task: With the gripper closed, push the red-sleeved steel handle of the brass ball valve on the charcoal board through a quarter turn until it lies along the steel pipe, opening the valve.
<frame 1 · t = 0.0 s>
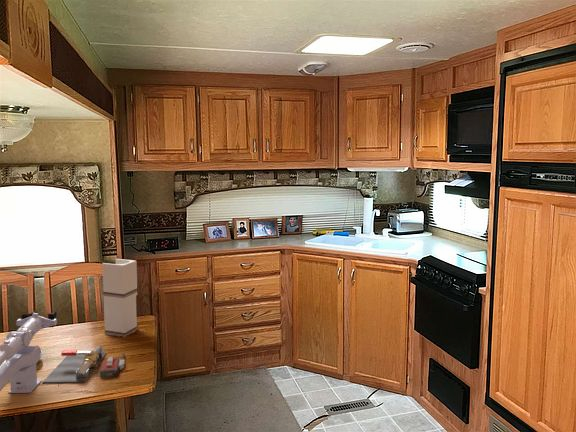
hand: (46, 313, 195), 22 cm above the table, tool horizontal, fingers open, 7 cm apart
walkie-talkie: (113, 368, 196), on the table
mounting board: (90, 367, 195), on the table
valve lever: (78, 352, 194), point 6 cm above the table, hinge at 0.0°
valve: (90, 360, 194), on the mounting board, point 3 cm above the table
tall square wastebasket: (121, 332, 233), on the table
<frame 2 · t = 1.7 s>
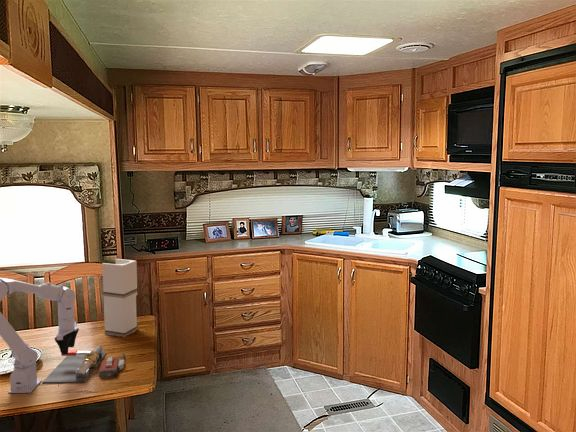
hand: (67, 350, 189), 9 cm above the table, tool pointing down, fingers open, 6 cm apart
nothing on the table moved.
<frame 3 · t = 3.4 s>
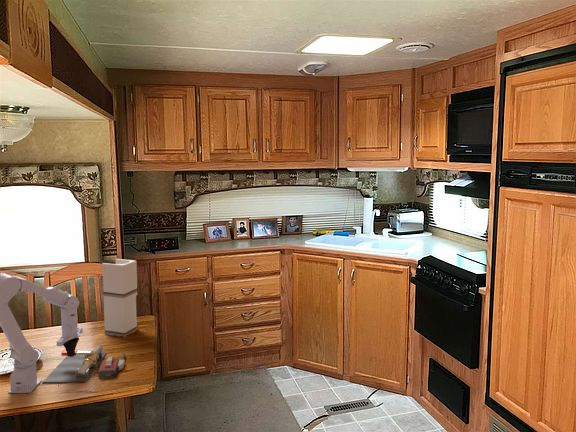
hand: (71, 356, 192), 6 cm above the table, tool pointing down, fingers closed, pressing on valve lever
valve lever: (78, 352, 194), point 6 cm above the table, hinge at 0.2°, touching gripper
everything else where it was.
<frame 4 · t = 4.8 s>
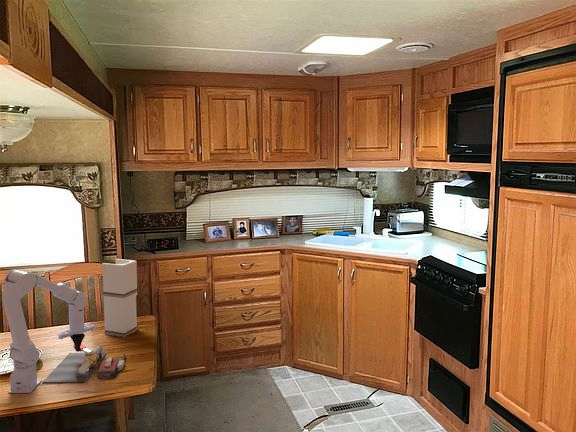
hand: (77, 350, 197), 6 cm above the table, tool pointing down, fingers closed, pressing on valve lever
valve lever: (83, 349, 197), point 6 cm above the table, hinge at 41.6°, touching gripper
everything else where it was.
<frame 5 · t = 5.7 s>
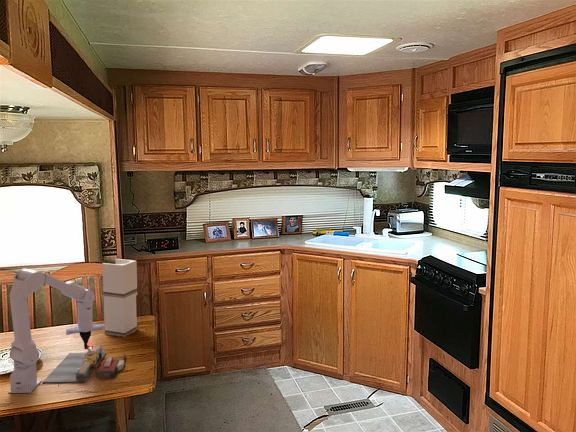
hand: (85, 348, 200), 6 cm above the table, tool pointing down, fingers closed, pressing on valve lever
valve lever: (90, 348, 198), point 6 cm above the table, hinge at 70.3°, touching gripper
everything else where it was.
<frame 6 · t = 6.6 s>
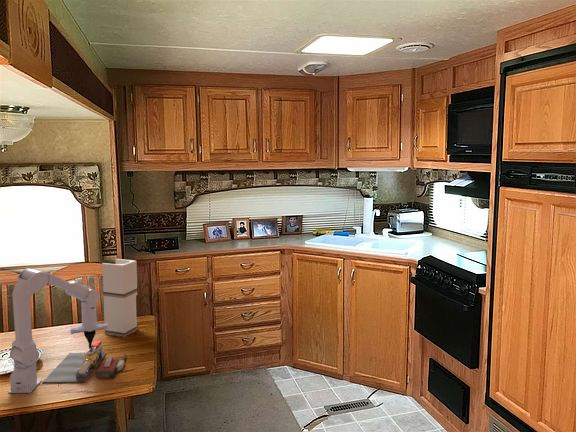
hand: (90, 347, 200), 6 cm above the table, tool pointing down, fingers closed, pressing on valve lever
valve lever: (94, 347, 199), point 6 cm above the table, hinge at 88.6°, touching gripper
everything else where it was.
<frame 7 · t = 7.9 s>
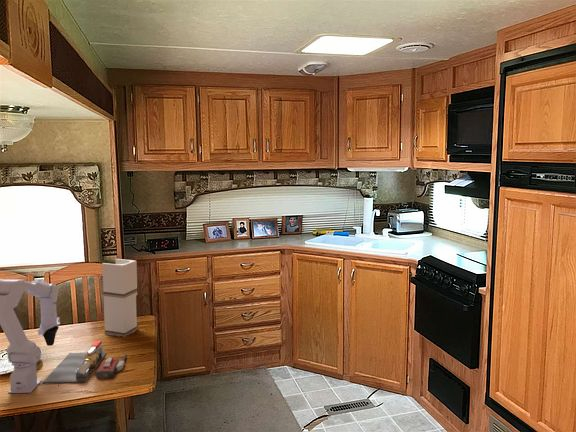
hand: (50, 345, 194), 9 cm above the table, tool pointing down, fingers closed
valve lever: (94, 347, 199), point 6 cm above the table, hinge at 88.6°
everything else where it was.
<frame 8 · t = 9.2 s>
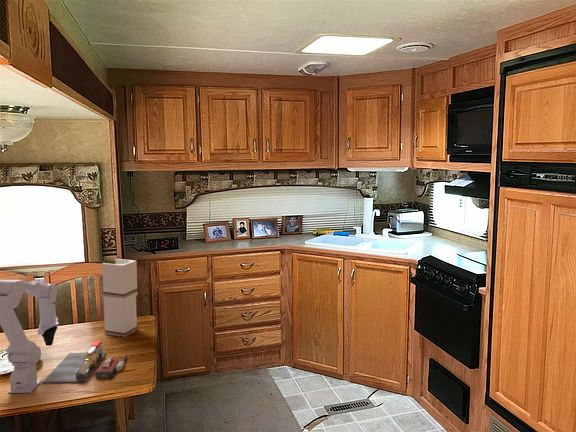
hand: (49, 345, 193), 9 cm above the table, tool pointing down, fingers closed
at the end: valve lever at +89° (first picture: +0°); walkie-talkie moved 1.1 cm from its start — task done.
